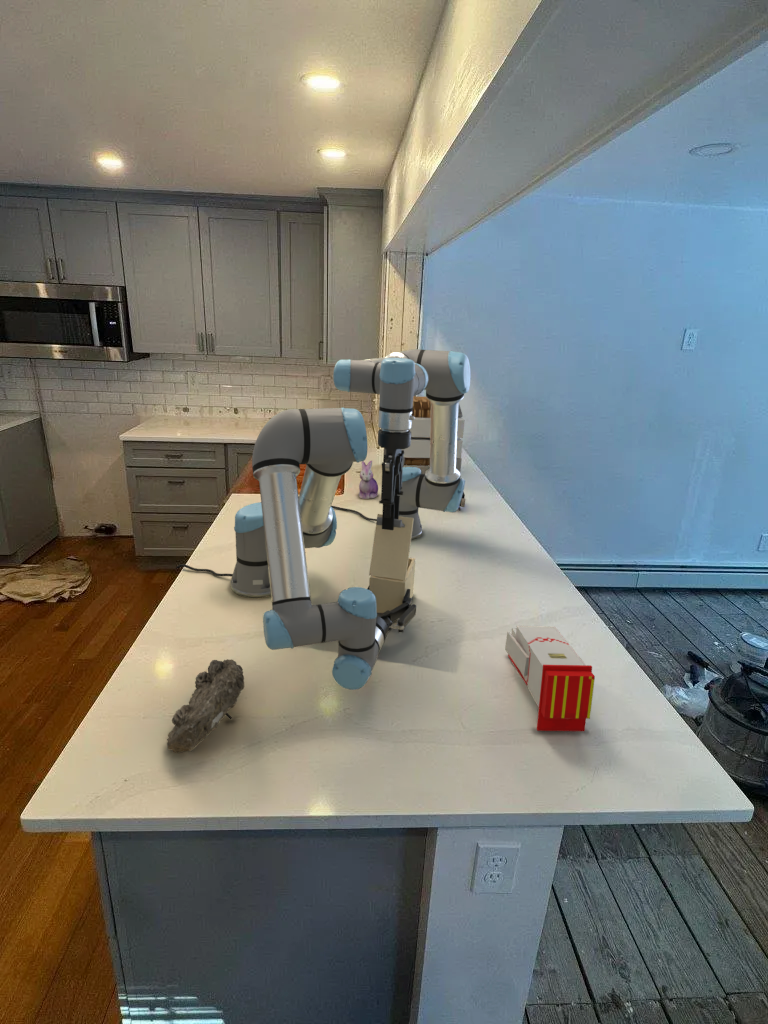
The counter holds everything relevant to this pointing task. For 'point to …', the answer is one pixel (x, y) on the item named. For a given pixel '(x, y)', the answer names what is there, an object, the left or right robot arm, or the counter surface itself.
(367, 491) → the figurine
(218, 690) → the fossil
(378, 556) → the lid
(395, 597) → the chest
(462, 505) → the figurine character
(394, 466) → the right robot arm
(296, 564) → the left robot arm
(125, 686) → the counter surface
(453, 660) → the counter surface
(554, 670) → the toy
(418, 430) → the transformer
